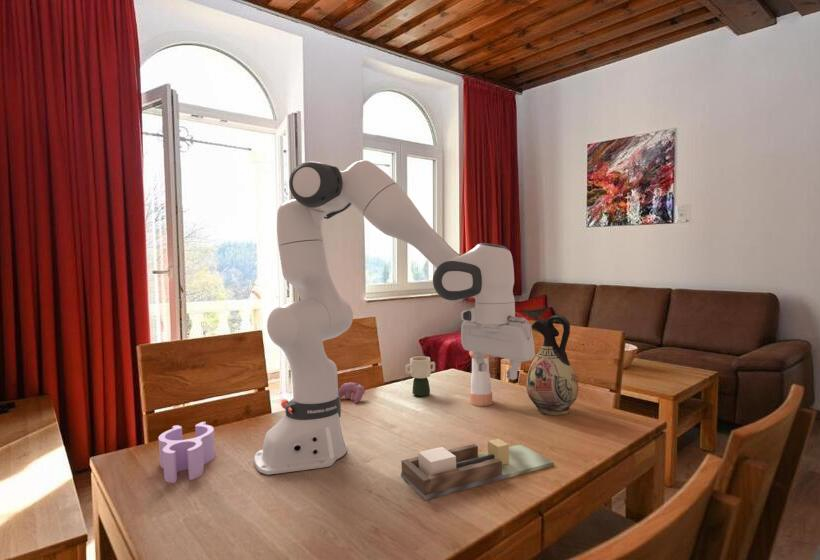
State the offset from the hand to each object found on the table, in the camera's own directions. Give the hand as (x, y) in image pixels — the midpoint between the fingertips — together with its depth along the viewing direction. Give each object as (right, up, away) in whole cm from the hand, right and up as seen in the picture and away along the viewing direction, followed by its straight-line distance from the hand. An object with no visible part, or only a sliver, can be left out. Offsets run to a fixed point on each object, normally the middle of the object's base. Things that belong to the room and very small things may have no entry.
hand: (496, 374), depth 112 cm
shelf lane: (-4, -21, -1) cm, 22 cm away
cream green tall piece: (-16, -19, +60) cm, 64 cm away
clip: (-74, -24, +8) cm, 78 cm away
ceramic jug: (+24, -19, +38) cm, 48 cm away
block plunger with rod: (-7, -21, -3) cm, 22 cm away
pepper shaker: (+4, -19, +49) cm, 52 cm away
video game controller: (-40, -20, +57) cm, 72 cm away
